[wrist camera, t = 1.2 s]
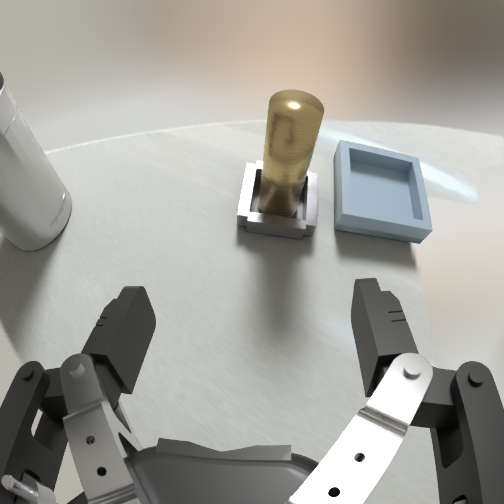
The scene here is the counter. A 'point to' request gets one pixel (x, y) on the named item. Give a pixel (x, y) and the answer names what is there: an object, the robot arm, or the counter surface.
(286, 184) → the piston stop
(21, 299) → the counter surface
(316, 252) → the counter surface
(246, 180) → the grey square holder
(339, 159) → the tray
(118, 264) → the counter surface
